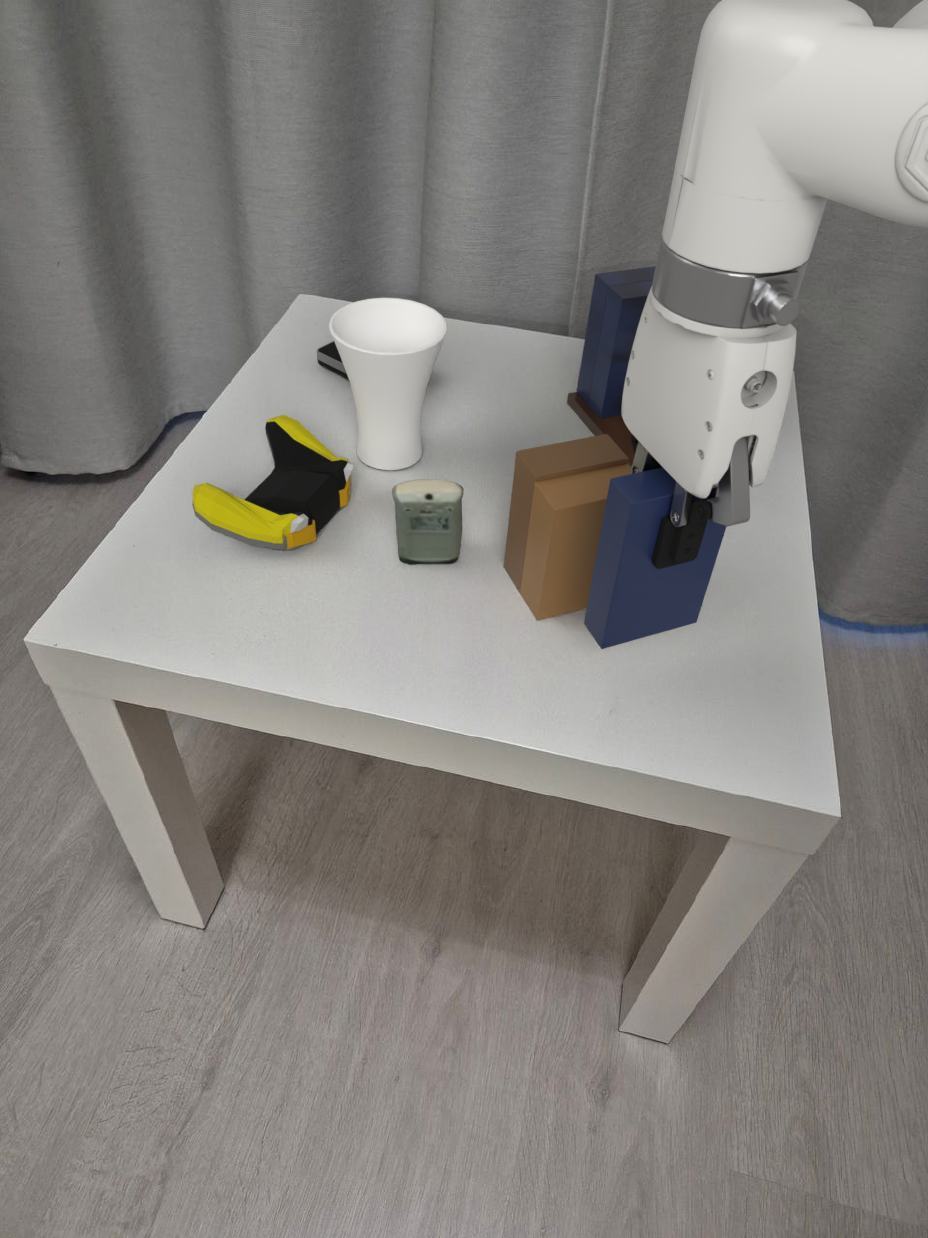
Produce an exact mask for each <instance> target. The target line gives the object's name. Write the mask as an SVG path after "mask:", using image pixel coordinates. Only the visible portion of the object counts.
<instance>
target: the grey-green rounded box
mask: <svg viewBox="0 0 928 1238" xmlns="http://www.w3.org/2000/svg"><path fill="white" fill-rule="evenodd" d="M464 490H465V489H464V487H463V486H462V485H461V484H459V483H457V482H454V481H450V480H445V479H438V478H437V479H436V478H435V479H433V478H432V479H431V478H426V479H425V478H421V479H413V480H407V481H403V482H400V483H398V484H395V485H394V486H393V488H392V489H391V495H392V500H393V502H394V515H395V516H394V517H395V533H396V544H397V555H398V556H397V557H398V560H399V562H401V563H403V564H406V565H411V566H414V565H451V564H455V563H457V562H458V561H459V558H460V553H461V545H462V539H463V497H464Z"/></svg>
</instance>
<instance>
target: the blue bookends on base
mask: <svg viewBox="0 0 928 1238" xmlns="http://www.w3.org/2000/svg"><path fill="white" fill-rule="evenodd" d="M655 268H656V265H654V266H647V267H637V268H631V269H630V268H629V269H624V270H615V271H608V272H600V273H599V272H598V273H595V275H594V280H593V286H592V292H591V298H590V304H589V311H588V318H587V324H586V330H585V335H584V343H583V348H582V354H581V362H580V367H579V373H578V379H577V385H576V391H573V392H568V393H567V398H566V403H567V405H568V406H569V408H571V410H572V411H573V412H574V414H576V415H577V416H578V418H579V419H580V420H581V421H582V422H583V424H584V425H585V426H586V427H587V428H588V429H589V430H590V432H591V433H592V434H593V435H594V436H599V435H604V434H608V435H609V436H610V437H611V439H612V440H613V441H614V442H615V443H616V444H617V445H618V447H619V448H620V449H621V450H622V451H623V452H624V453H625V455H626V456H627V457H628V463H627V464H628V465H629V466H630V467H632V464H633V460H634V456H635V455H634V451H633V446H632V443H631V433H630V431H629V429H628V428H627V426H626V424H625V423H624V420H623V418H622V397H623V390H624V383H625V378H626V373H627V368H628V363H629V359H630V355H631V351H632V347H633V343H634V339H635V336H636V332H637V328H638V325H639V322H640V318H641V315H642V312H643V309H644V306H645V303H646V300H647V297H648V294H649V292H650V289H651V287H652V283H653V278H654V273H655Z"/></svg>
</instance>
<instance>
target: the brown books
mask: <svg viewBox="0 0 928 1238" xmlns="http://www.w3.org/2000/svg"><path fill="white" fill-rule="evenodd" d="M627 463H628V457H627V456H626V455H625V453H624V452H623V451H622V450H621V449H620V448H619V447H618V445H617V444H616V443H615V442H614V441H613V440H612V439H611V437H610V436H609V435H608V434H604V435H599V436H595V435H594V436H588V437H583V438H578V439H572V440H568V441H561V442H557V443H551V444H547V445H541V446H536V447H531V448H526V449H525V448H524V449H520V450H516V451H515V459H514V469H513V470H514V471H513V477H512V478H513V479H512V488H511V496H510V504H509V515H508V523H507V531H506V540H505V549H504V559H503V568H504V570H505V572H506V573H507V575H508V576H509V578H510V580H511V582H512V583H513V584H514V586H515V588H516V589H517V590H518V592H519V594H520V596H521V597H522V599H523V600H524V602H525V604H526V605H527V607H528V609H529V610H530V611H531V613H532V615H533V616H534V618H535V619H536V621H538V622H539V621H542V620H546V619H551V618H553V617H557V616H562V615H565V614H570V613H573V612H574V613H575V612H579V611H582V610H584V609H585V610H586V609H587V603H588V598H589V592H590V587H591V582H592V576H593V571H594V565H595V560H596V554H597V549H598V544H599V538H600V533H601V527H602V522H603V516H604V511H605V505H606V500H607V495H608V489H609V484H610V479H611V478H616V477H621V476H625V475H630V474H631V467H630V466H629V465H628V464H627Z"/></svg>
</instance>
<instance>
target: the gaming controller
mask: <svg viewBox="0 0 928 1238" xmlns="http://www.w3.org/2000/svg"><path fill="white" fill-rule="evenodd" d="M264 429H265V431H264V432H265V436H266V439H267V443H268V446H269V449H270V452H271V457H272V461H273V464H274V468H273V469H272V471H271V472H270V474H269V475H268V476H267V477H266V478H265V479H264V480H263V481H262V482H260V484H259V485H257V487H255V489H253V490H252V492H250V493H249V494H248V495H247V496H246V497H245V498H241V497H239V496H236V495H234V494H232V493H230V492H229V491H227V490H225V489H222V488H220V487H218V486H216V485H213V484H210V483H209V482H204V483H200V484H195V485H194V486H193V488H192V508H193V512H194V516H195V517H196V518H197V519H198V520H200V521H201V522H202V523H203V524H204V525H206V527H208V528H209V529H210V530H211V531H212V532H216V533H218V534H220V535H223V536H226V537H229V538H231V539H233V540H236V541H239V542H241V543H244V544H247V545H250V546H254V547H255V546H256V547H261V548H266V549H269V550H270V549H271V550H274V551H285V550H286V551H290V550H294V549H296V548H298V547H301V546H303V545H307V544H311V543H314V542H316V541H317V536H318V534H319V533H320V532H321V531H322V530H323V529H324V527H325V526H326V525H327V524H328V523H329V522H330V521H331V520H332V519H333V517H334V516H335V515H336V514H337V513H338V512H339V511H340V509H341V508H342V507H345V506H348V504H349V501H350V496H351V489H352V488H351V487H352V479H351V477H352V476H351V474H352V471H353V468H354V466H355V464H354V463H352V462H351V461H349V459H348V458H346V457H342V456H341V457H337V455H335V454H334V453H333V452H332V451H331V450H330V449H329V448H328V447H327V446H326V445H325V444H323V443H322V442H321V441H320V440H319V439H318V438H317V437H316V436H315V435H313V433H312V432H310V431H309V429H307V428H306V427H305V426H304V425H303V424H302V423H301V422H300V421H299V420H298V419H297V420H296V419H295V418H292V417H290V416H288V415H286V414H281V415H278V416H274V417H271V418H269V419H267V420H266V422H265V427H264Z"/></svg>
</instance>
